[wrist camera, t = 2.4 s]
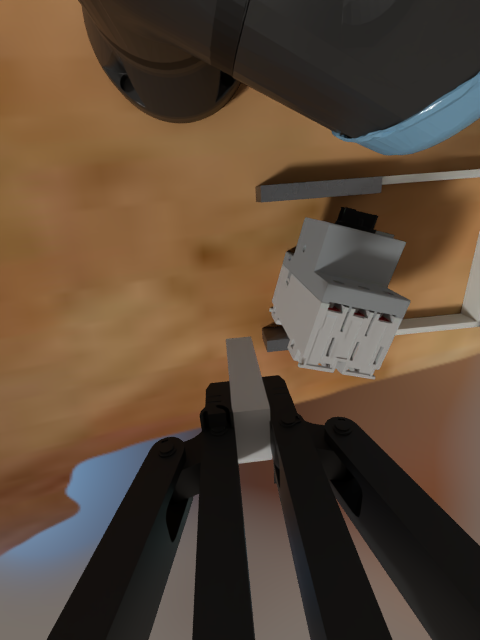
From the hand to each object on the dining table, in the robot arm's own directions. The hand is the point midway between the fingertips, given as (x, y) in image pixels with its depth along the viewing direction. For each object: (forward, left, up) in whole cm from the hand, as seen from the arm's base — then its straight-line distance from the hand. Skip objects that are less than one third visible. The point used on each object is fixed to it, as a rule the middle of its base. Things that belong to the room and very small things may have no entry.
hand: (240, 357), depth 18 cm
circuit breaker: (0, +11, -22) cm, 24 cm away
